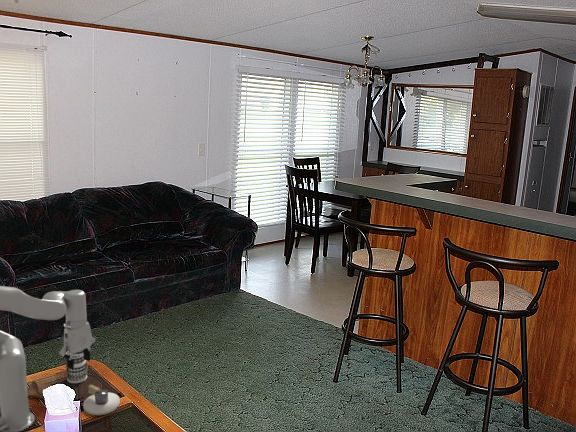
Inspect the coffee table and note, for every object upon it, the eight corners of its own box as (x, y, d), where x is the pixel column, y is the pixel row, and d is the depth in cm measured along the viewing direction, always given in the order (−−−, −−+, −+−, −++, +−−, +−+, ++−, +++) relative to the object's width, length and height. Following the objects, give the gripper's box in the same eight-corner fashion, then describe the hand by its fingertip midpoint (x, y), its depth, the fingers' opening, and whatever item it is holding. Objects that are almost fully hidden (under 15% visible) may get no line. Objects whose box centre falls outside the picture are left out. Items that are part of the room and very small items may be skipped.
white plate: (121, 411, 219) (121, 407, 219) (84, 418, 214) (84, 414, 213) (118, 392, 231) (117, 389, 231) (82, 399, 226) (82, 395, 226)
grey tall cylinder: (70, 386, 235) (67, 332, 229) (62, 377, 242) (59, 325, 236) (91, 379, 241) (88, 326, 235) (83, 370, 248) (80, 319, 242)
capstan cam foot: (110, 400, 223) (110, 390, 222) (100, 406, 219) (100, 395, 218) (95, 392, 228) (94, 382, 227) (85, 398, 224) (84, 387, 222)
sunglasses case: (19, 397, 226) (24, 380, 227) (30, 396, 232) (34, 380, 234) (58, 404, 222) (62, 387, 224) (68, 403, 228) (72, 387, 230)
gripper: (63, 332, 202) (65, 376, 206) (101, 316, 216) (103, 357, 221) (50, 327, 206) (53, 369, 210) (88, 312, 220) (90, 352, 225)
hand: (78, 363), depth 215 cm, fingers open, 6 cm apart
